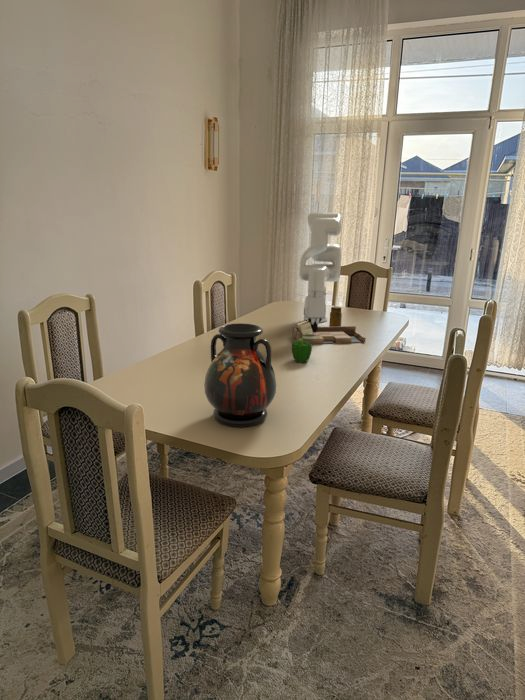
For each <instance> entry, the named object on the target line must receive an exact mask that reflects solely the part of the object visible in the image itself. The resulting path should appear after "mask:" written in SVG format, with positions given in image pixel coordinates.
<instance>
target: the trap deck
mask: <svg viewBox="0 0 525 700" xmlns="http://www.w3.org/2000/svg"><path fill="white" fill-rule="evenodd" d="M356 329H357V326H354V325H349V326H348V325H347V326H345V325H343V326H342V325H341V326H338V327H329V326H318V329H317V331H316V332H312V333H309V334H307V335H304V336H303V335H302V334H301V333H300V331H299V327H298V326H297V327H292V338H293V339H294V338H295V339H294V340H295V342H296V341H299V339H302V340H303V342H306V341H308V342H309V343H310V344H311V345H332V344H333V343H340V344H360V343H359V342H365V343H366V341H367V340H366V336H364V334H363V335H362V334H361V333H360V332H359V331H357V330H356ZM333 345H334V344H333Z"/></svg>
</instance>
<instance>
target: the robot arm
mask: <svg viewBox="0 0 525 700" xmlns="http://www.w3.org/2000/svg"><path fill="white" fill-rule="evenodd" d="M307 225H308V227H309V229H310V244H309V246H308V247H307V248H306V249H305V251H304V252H303V254H302V255H301V257H300V261H299V268H298V269H299V272H298V273H299V279H300V280H301V281H305V282H307V283H308V284H307V295H306V296H305V299H304V305H303V318H302V319H303V320H304V321H306V320H307V321H308V322H310V324H311V328H312V331H313V332H316V331H317V329H318V327H319V323H324V322H327V321H328V317H326V315H327V304H326V302H327V300H326V299H327V292H328V291H327V287H326V286H325V282H331V283H332V282H335V283H336V282H338V281H339V280H340V277H341V269H342V267H341V266H342V248H341V246H340V245H339V244H336V243H329V236H333V237H334V236H339V235H340V234H341V231H342V215H341V213H339V212H324V211H323V212H322V211H321V212H319V211H315V212H310V213H309V214H308V215H307ZM310 258H312V260H313V261H314V262H321V263H312V264H306V263H307V260H309V259H310ZM322 262H323V263H322ZM325 262H327V263H325Z"/></svg>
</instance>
